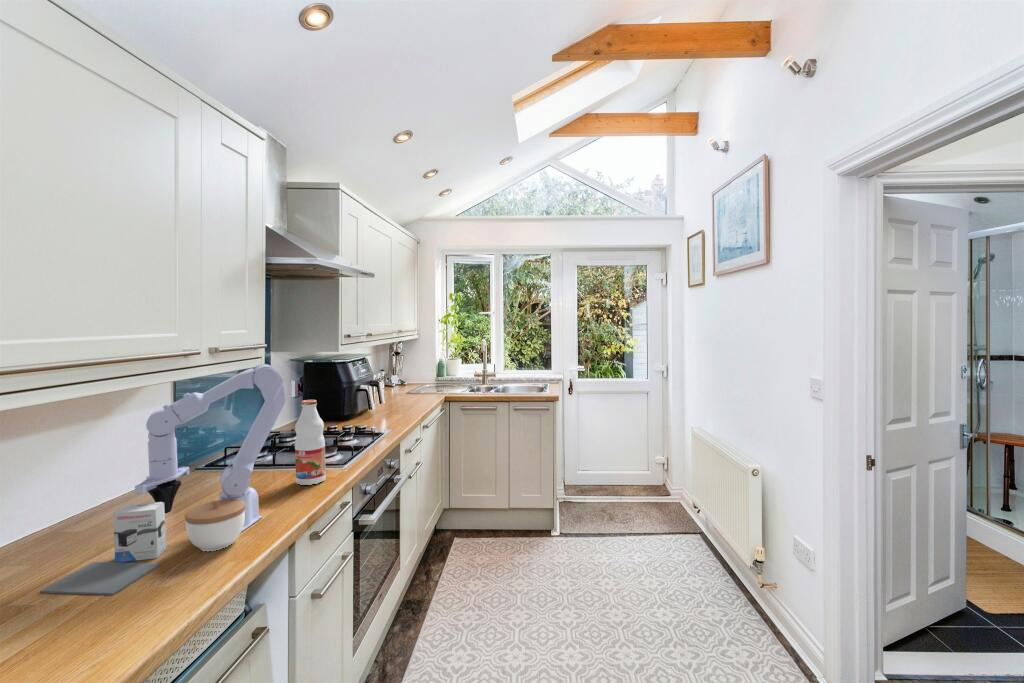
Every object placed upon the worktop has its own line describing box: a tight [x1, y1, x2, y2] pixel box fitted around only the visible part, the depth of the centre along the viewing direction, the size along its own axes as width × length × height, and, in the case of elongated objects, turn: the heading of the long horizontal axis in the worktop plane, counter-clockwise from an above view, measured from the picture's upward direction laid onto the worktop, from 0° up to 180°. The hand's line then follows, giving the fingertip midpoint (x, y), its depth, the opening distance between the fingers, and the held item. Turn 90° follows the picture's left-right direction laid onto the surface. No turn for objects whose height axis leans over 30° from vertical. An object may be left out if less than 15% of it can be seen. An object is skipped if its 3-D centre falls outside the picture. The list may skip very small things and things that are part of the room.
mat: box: [39, 561, 161, 596], centre depth 101 cm, size 12×16×1 cm
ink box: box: [112, 501, 167, 563], centre depth 110 cm, size 8×5×12 cm, turn 105°
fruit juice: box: [294, 399, 327, 486], centre depth 160 cm, size 9×9×28 cm
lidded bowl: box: [184, 499, 245, 553], centre depth 116 cm, size 13×13×11 cm
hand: (165, 512), depth 118 cm, fingers closed
